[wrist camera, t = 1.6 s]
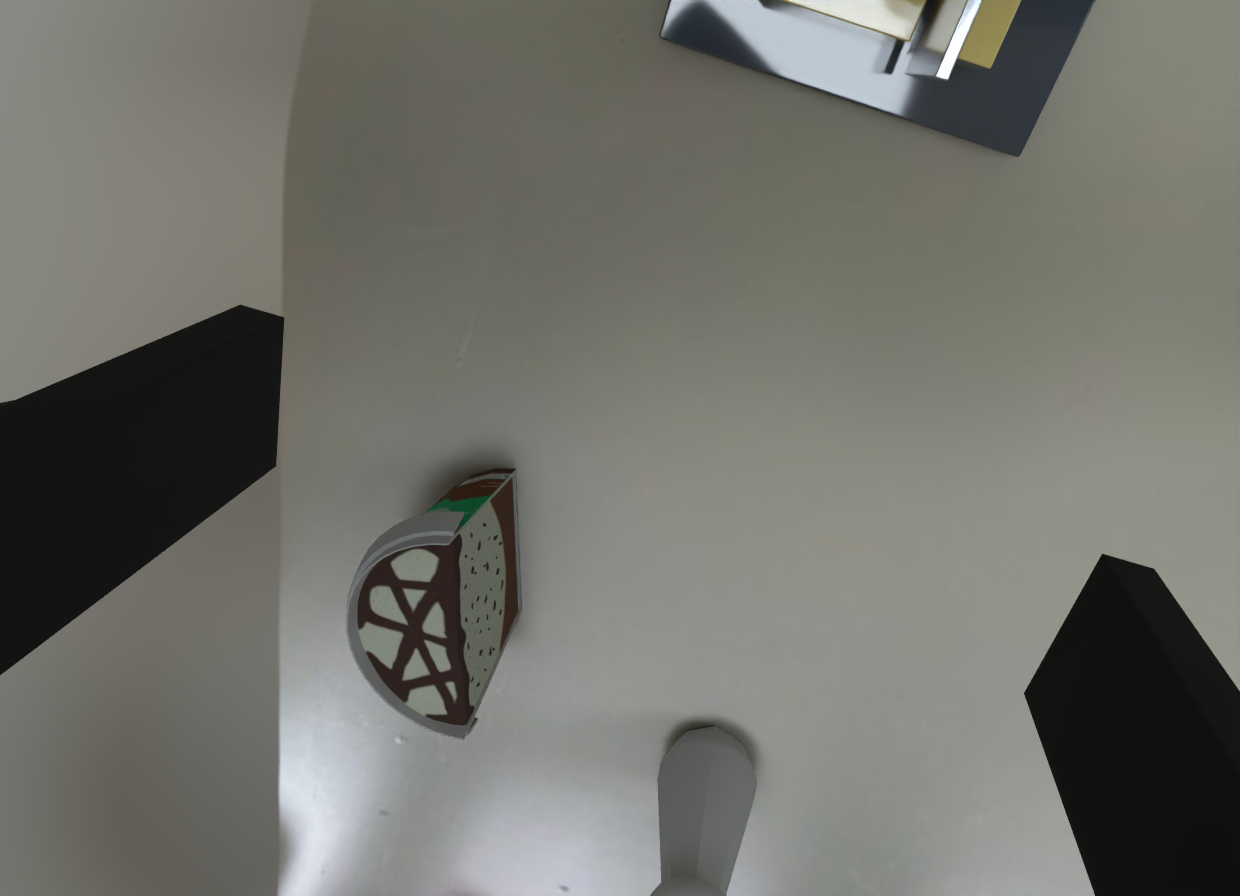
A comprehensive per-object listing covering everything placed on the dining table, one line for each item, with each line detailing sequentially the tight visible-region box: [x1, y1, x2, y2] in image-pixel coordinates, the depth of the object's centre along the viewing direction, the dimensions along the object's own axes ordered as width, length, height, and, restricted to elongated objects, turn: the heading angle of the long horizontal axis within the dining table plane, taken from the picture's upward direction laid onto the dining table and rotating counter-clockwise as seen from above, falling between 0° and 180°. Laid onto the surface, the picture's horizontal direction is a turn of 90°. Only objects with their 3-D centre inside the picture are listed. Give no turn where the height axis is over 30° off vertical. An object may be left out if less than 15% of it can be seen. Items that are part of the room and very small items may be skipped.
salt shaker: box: [650, 726, 757, 896], centre depth 47 cm, size 6×6×13 cm
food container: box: [346, 469, 522, 740], centre depth 46 cm, size 12×6×10 cm, turn 179°
